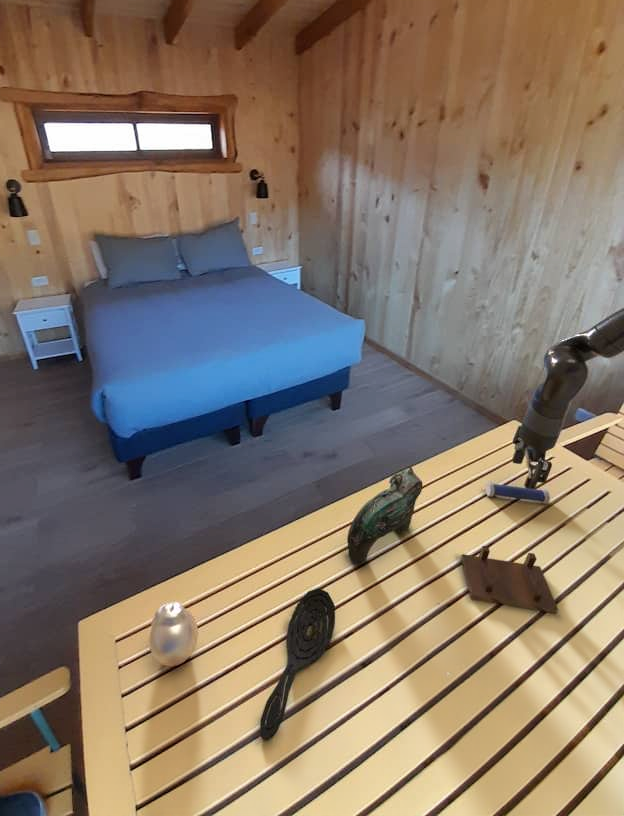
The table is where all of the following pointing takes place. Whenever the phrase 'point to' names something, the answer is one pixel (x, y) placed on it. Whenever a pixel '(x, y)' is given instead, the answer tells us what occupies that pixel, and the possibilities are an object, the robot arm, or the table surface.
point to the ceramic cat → (384, 514)
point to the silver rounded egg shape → (172, 634)
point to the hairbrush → (300, 651)
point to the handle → (517, 492)
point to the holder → (507, 582)
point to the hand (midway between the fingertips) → (522, 474)
